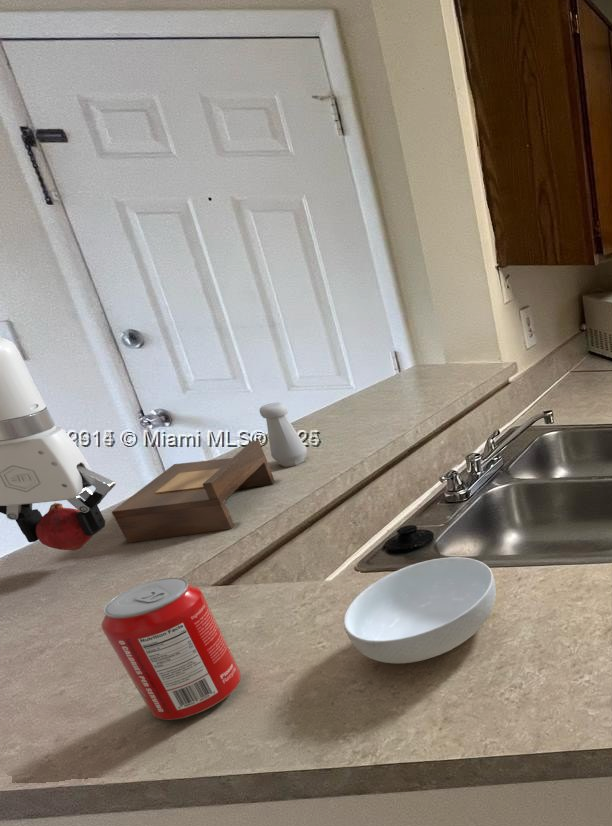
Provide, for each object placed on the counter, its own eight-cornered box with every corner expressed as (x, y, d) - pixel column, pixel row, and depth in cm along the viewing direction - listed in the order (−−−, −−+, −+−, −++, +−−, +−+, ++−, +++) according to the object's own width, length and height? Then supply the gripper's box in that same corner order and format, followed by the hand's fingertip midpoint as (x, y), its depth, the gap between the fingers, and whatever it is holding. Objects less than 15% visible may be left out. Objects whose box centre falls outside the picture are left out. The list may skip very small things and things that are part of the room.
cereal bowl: (450, 583, 92) (439, 544, 89) (530, 617, 85) (521, 575, 82) (329, 657, 78) (312, 613, 75) (413, 704, 71) (398, 658, 68)
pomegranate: (97, 553, 94) (75, 508, 91) (42, 564, 91) (16, 518, 88) (108, 535, 98) (87, 491, 95) (56, 545, 95) (32, 501, 92)
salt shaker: (290, 455, 131) (269, 399, 125) (317, 456, 131) (297, 399, 125) (268, 468, 125) (245, 409, 120) (295, 468, 125) (273, 410, 120)
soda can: (192, 730, 68) (134, 624, 62) (135, 719, 69) (71, 614, 63) (261, 677, 75) (214, 577, 69) (207, 668, 76) (157, 569, 70)
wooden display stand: (127, 543, 101) (102, 495, 97) (186, 492, 116) (167, 449, 112) (231, 528, 105) (211, 482, 101) (275, 481, 120) (259, 440, 117)
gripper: (-99, 442, 80) (-30, 556, 87) (73, 430, 85) (125, 539, 93) (-49, 421, 87) (12, 529, 94) (108, 411, 92) (154, 514, 99)
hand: (68, 533), depth 93 cm, fingers closed on pomegranate, 5 cm apart
